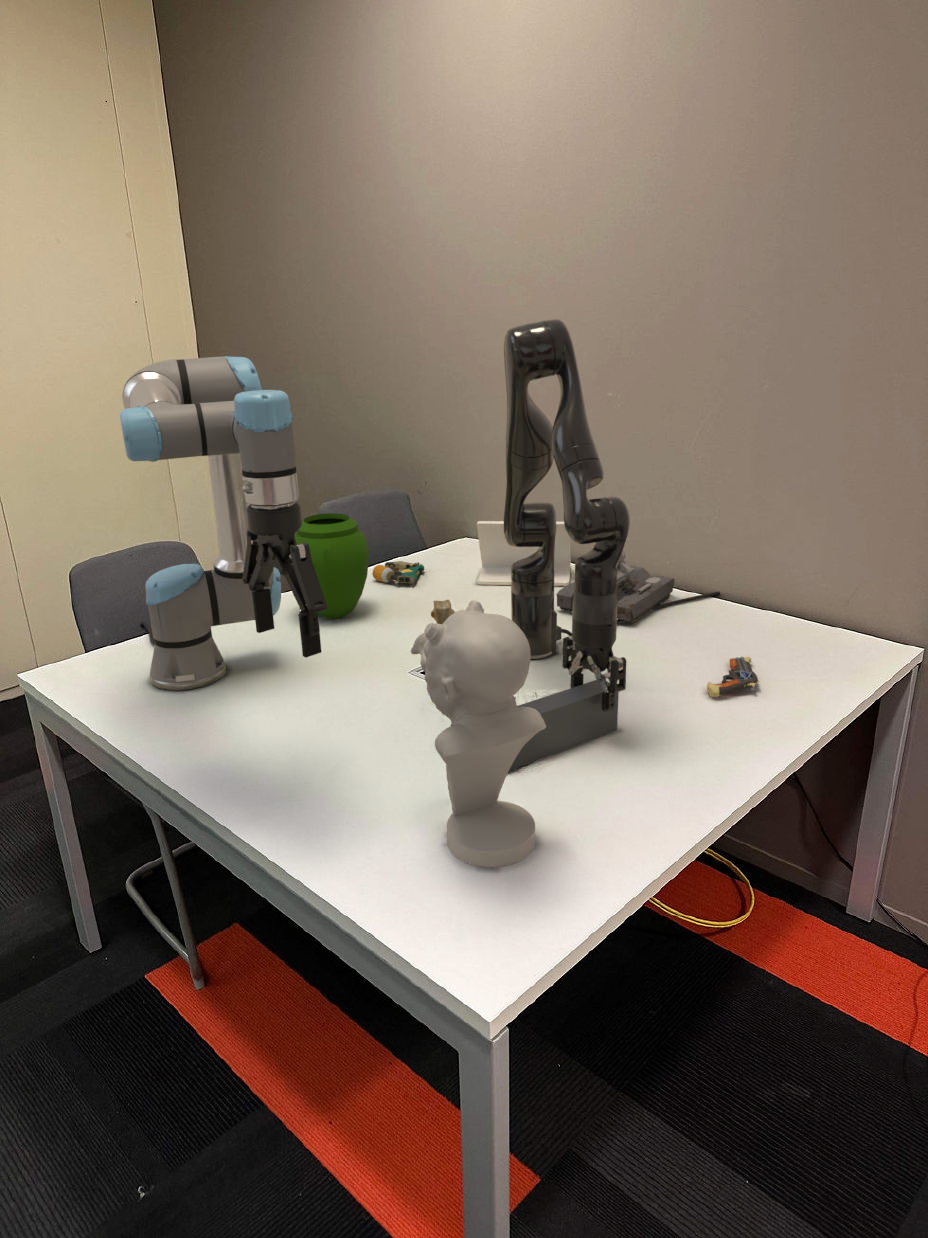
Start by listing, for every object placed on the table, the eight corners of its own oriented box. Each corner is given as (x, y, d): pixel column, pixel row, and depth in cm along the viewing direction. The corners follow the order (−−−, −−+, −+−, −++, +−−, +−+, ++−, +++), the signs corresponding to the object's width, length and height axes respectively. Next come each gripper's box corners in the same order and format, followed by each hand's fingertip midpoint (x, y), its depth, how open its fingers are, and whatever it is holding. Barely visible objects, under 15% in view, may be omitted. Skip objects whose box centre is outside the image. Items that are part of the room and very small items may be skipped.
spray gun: (392, 568, 251) (438, 575, 245) (363, 581, 236) (410, 589, 230) (392, 554, 249) (438, 561, 243) (362, 567, 235) (411, 574, 229)
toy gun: (708, 687, 162) (763, 684, 160) (700, 655, 180) (750, 652, 178) (709, 701, 163) (764, 698, 161) (701, 667, 181) (750, 664, 179)
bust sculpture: (481, 772, 140) (476, 569, 128) (565, 848, 120) (569, 617, 108) (392, 800, 134) (378, 588, 121) (465, 886, 114) (457, 642, 101)
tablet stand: (569, 585, 229) (570, 524, 223) (476, 584, 232) (475, 523, 226) (570, 566, 246) (571, 508, 240) (484, 564, 249) (483, 507, 243)
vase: (389, 608, 216) (383, 514, 208) (339, 633, 201) (330, 533, 192) (330, 596, 226) (322, 506, 218) (278, 619, 211) (267, 523, 202)
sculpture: (458, 662, 183) (456, 596, 178) (460, 676, 176) (457, 608, 171) (431, 663, 183) (428, 597, 177) (431, 677, 176) (428, 609, 171)
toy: (603, 584, 229) (605, 530, 224) (673, 597, 218) (677, 540, 213) (555, 612, 210) (556, 553, 205) (630, 627, 199) (633, 566, 194)
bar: (599, 721, 157) (600, 678, 154) (617, 730, 153) (619, 687, 150) (490, 760, 144) (489, 714, 141) (506, 772, 141) (505, 725, 138)
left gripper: (208, 495, 128) (226, 627, 135) (295, 523, 110) (310, 673, 117) (253, 487, 132) (268, 615, 140) (344, 512, 115) (355, 658, 122)
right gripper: (550, 608, 148) (550, 693, 154) (606, 632, 137) (603, 723, 143) (583, 599, 152) (581, 682, 158) (640, 622, 141) (636, 711, 147)
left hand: (288, 642), depth 129 cm, fingers open, 13 cm apart
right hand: (592, 701), depth 150 cm, fingers open, 7 cm apart
